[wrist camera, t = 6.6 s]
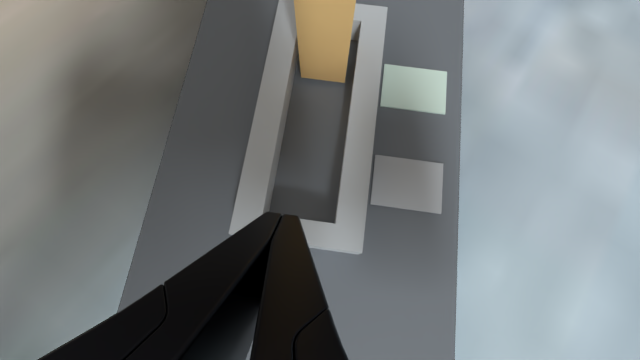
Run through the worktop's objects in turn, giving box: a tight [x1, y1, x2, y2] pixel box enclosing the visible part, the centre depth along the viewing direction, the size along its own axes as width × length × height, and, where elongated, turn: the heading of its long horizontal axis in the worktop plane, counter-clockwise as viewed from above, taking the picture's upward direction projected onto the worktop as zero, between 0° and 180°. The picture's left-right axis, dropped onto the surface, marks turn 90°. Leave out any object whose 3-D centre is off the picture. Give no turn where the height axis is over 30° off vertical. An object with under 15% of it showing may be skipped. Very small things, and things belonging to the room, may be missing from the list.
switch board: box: [117, 0, 464, 360], centre depth 15 cm, size 20×14×3 cm
